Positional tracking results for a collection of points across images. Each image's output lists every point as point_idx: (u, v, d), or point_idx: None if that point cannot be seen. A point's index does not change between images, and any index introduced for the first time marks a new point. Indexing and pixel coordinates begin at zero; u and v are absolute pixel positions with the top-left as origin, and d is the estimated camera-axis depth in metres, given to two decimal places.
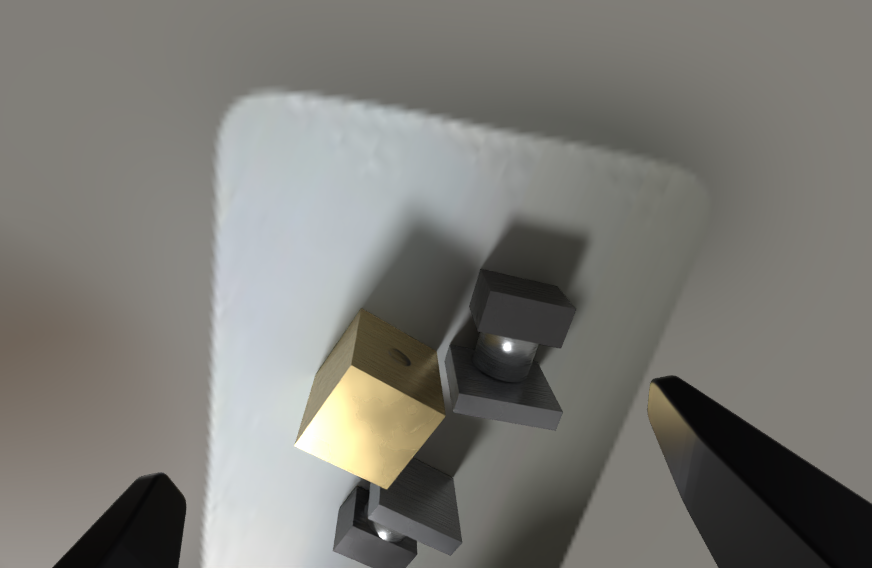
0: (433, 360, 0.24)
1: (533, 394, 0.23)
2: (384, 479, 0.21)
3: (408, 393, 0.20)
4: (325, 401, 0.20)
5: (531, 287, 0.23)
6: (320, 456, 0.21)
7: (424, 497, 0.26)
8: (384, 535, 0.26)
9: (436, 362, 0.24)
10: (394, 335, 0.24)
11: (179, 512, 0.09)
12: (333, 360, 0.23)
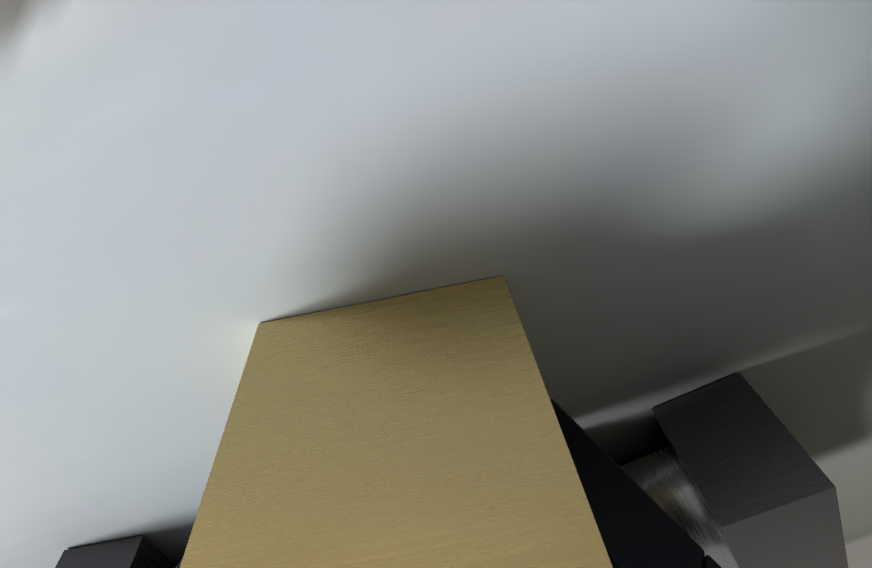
0: None
1: None
2: None
3: None
4: None
5: None
6: None
7: None
8: None
9: None
10: None
11: None
12: (382, 373, 0.07)
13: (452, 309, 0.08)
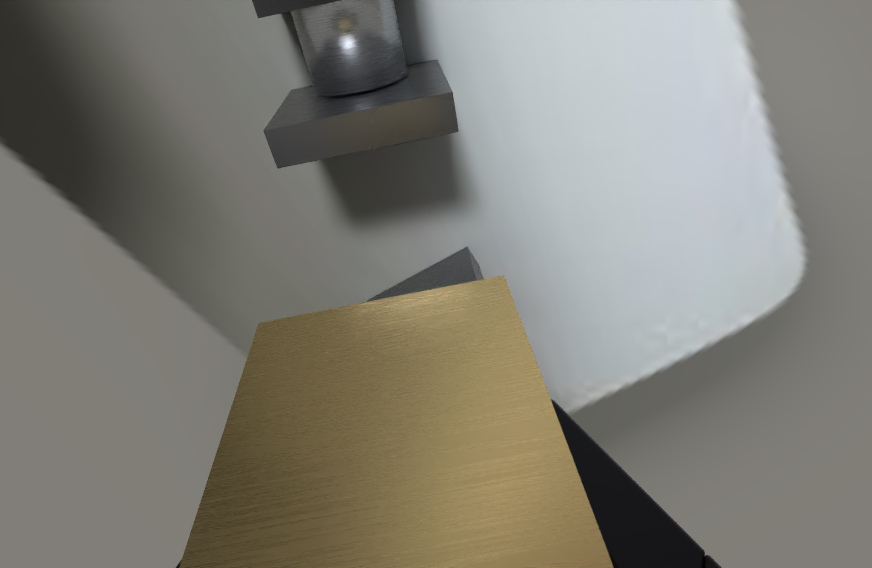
0: None
1: None
2: None
3: None
4: None
5: None
6: None
7: None
8: (347, 9, 0.13)
9: None
10: None
11: None
12: (383, 372, 0.07)
13: (453, 309, 0.08)
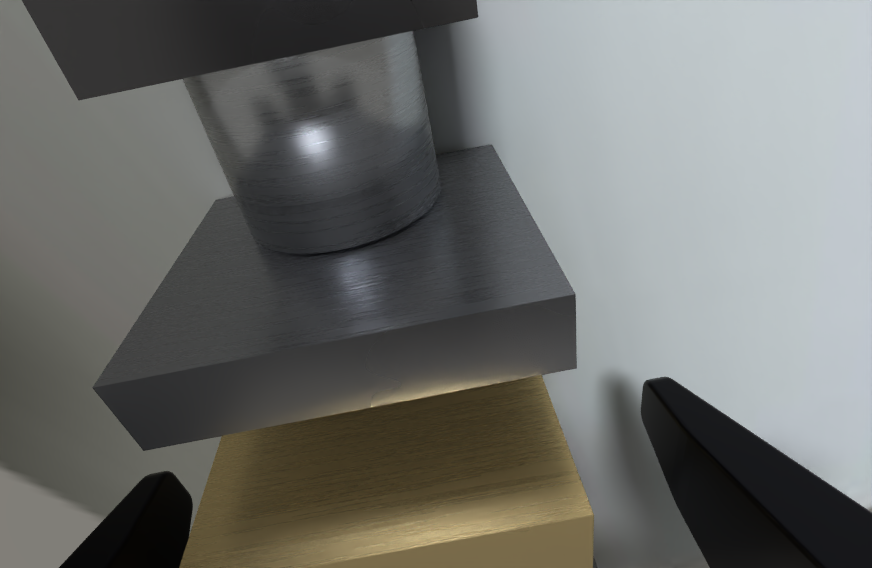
0: None
1: None
2: None
3: None
4: (403, 544, 0.05)
5: None
6: None
7: None
8: (306, 78, 0.05)
9: None
10: None
11: (186, 511, 0.09)
12: None
13: None
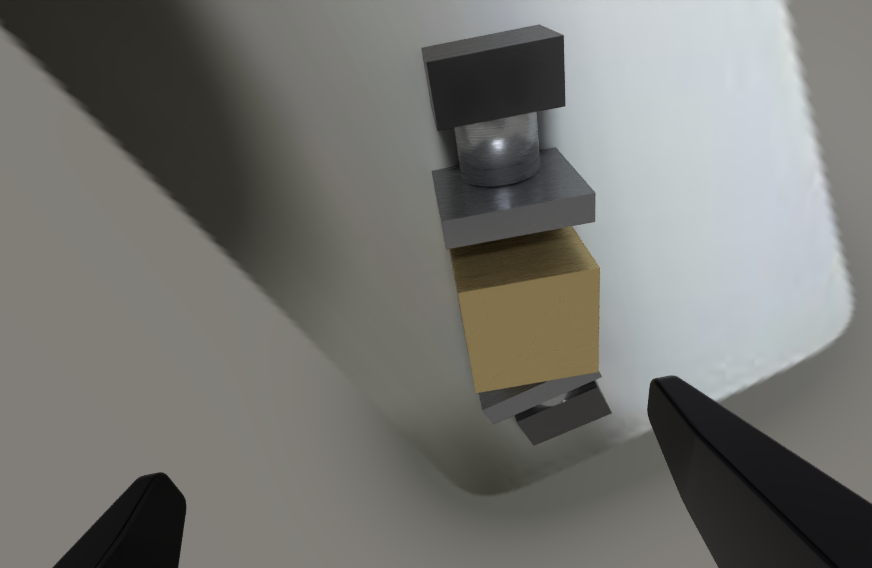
0: None
1: None
2: (485, 384, 0.18)
3: (597, 330, 0.17)
4: (536, 278, 0.16)
5: None
6: (465, 321, 0.16)
7: None
8: (509, 124, 0.16)
9: None
10: None
11: (179, 512, 0.09)
12: None
13: None
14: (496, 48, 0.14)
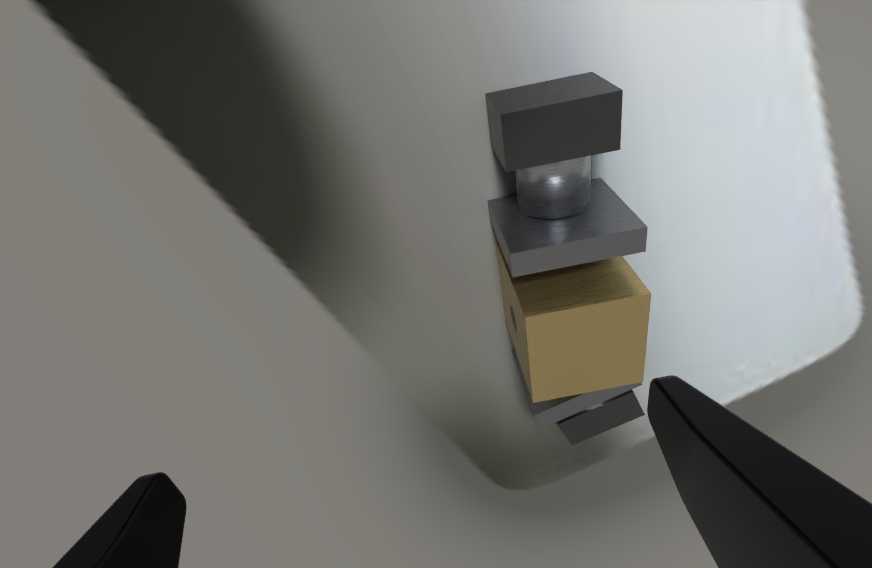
0: None
1: None
2: (543, 394, 0.20)
3: (643, 346, 0.19)
4: (594, 303, 0.18)
5: None
6: (530, 341, 0.18)
7: None
8: (569, 165, 0.17)
9: None
10: None
11: (179, 512, 0.09)
12: None
13: None
14: (562, 101, 0.16)
